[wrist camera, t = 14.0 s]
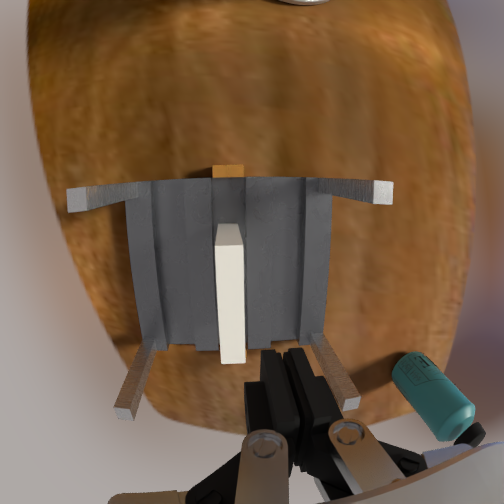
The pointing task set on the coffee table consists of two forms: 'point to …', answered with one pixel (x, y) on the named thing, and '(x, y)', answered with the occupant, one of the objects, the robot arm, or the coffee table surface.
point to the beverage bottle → (437, 400)
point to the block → (230, 292)
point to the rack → (255, 262)
